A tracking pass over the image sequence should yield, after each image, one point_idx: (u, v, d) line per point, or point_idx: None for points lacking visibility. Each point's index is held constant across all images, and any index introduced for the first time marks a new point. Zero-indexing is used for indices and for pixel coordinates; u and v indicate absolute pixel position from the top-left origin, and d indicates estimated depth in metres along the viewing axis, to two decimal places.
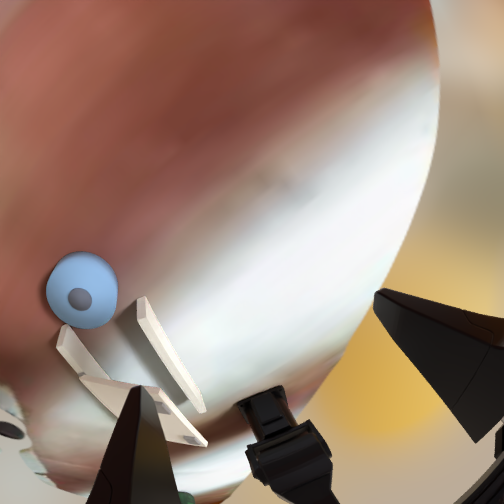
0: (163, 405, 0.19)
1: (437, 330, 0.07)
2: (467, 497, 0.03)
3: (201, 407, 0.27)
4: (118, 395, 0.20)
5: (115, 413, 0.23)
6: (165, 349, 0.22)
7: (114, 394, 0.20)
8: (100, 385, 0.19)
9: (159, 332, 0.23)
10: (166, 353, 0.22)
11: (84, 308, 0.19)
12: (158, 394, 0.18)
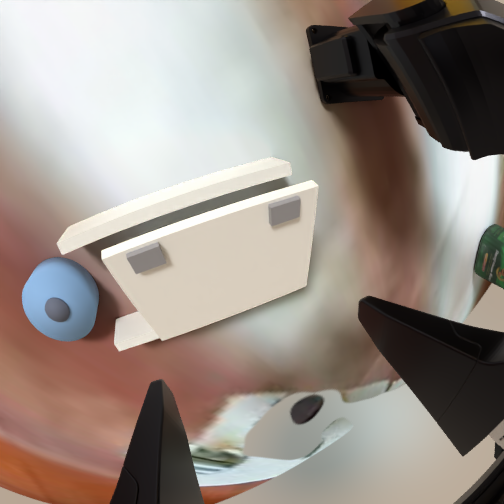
0: (131, 254, 0.12)
1: (422, 342, 0.07)
2: (467, 497, 0.03)
3: (273, 170, 0.17)
4: (162, 304, 0.16)
5: (241, 308, 0.19)
6: (113, 218, 0.15)
7: (164, 308, 0.16)
8: (152, 321, 0.16)
9: (99, 219, 0.15)
10: (118, 218, 0.15)
11: (65, 307, 0.16)
12: (104, 258, 0.12)
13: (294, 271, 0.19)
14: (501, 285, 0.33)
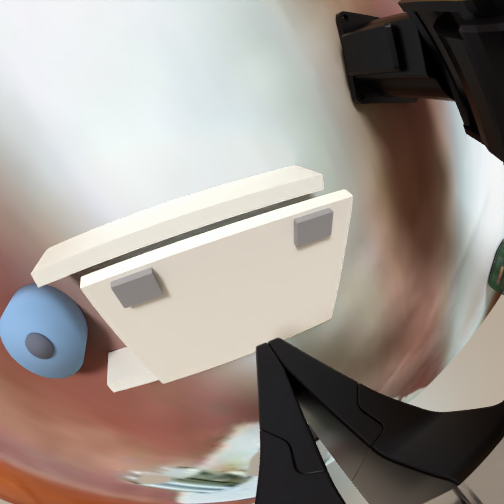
0: (116, 283, 0.09)
1: (318, 405, 0.06)
2: None
3: (302, 183, 0.13)
4: (160, 344, 0.12)
5: None
6: (98, 244, 0.11)
7: (163, 349, 0.13)
8: (149, 363, 0.13)
9: (81, 243, 0.12)
10: (104, 245, 0.11)
11: (49, 344, 0.13)
12: (83, 287, 0.09)
13: (320, 302, 0.15)
14: None
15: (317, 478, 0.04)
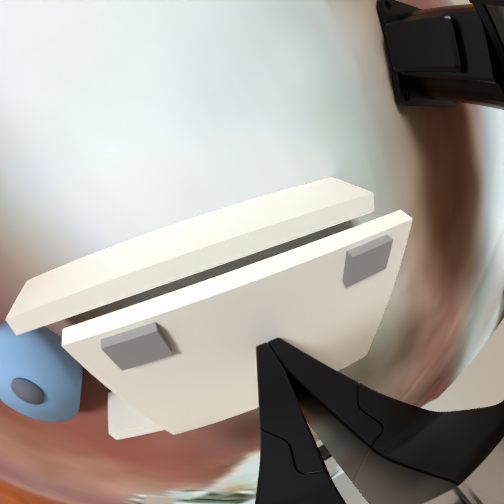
0: (108, 342, 0.06)
1: (318, 405, 0.06)
2: None
3: (351, 204, 0.10)
4: (170, 401, 0.09)
5: None
6: (84, 287, 0.08)
7: (174, 405, 0.10)
8: (157, 418, 0.10)
9: (65, 280, 0.09)
10: (92, 288, 0.08)
11: (38, 391, 0.10)
12: (65, 344, 0.06)
13: (359, 341, 0.12)
14: None
15: (317, 478, 0.04)
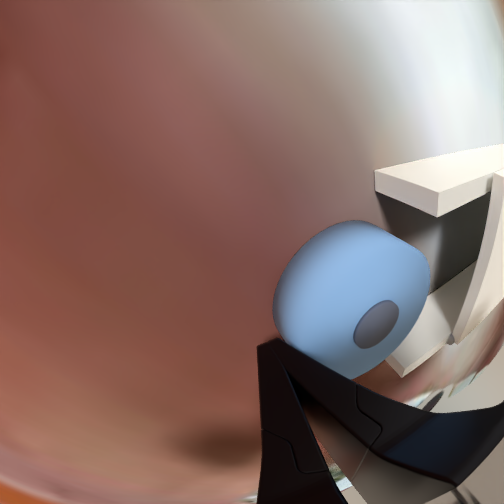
0: None
1: (316, 405, 0.06)
2: None
3: None
4: (494, 272, 0.09)
5: None
6: (485, 172, 0.08)
7: (491, 280, 0.10)
8: (476, 304, 0.10)
9: (452, 168, 0.08)
10: (491, 174, 0.08)
11: (394, 317, 0.09)
12: None
13: None
14: None
15: (319, 477, 0.04)
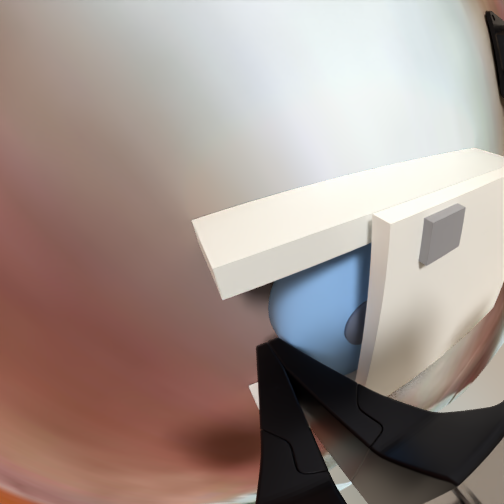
0: (435, 218, 0.06)
1: (317, 405, 0.06)
2: None
3: None
4: (403, 342, 0.08)
5: (451, 343, 0.11)
6: (369, 210, 0.07)
7: (400, 351, 0.08)
8: (372, 380, 0.09)
9: (309, 208, 0.07)
10: None
11: None
12: (392, 224, 0.05)
13: (498, 283, 0.11)
14: None
15: (318, 478, 0.04)
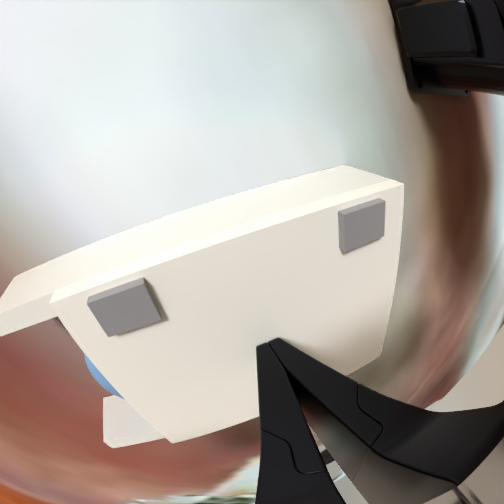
0: (94, 297, 0.06)
1: (317, 405, 0.06)
2: None
3: None
4: (164, 394, 0.09)
5: None
6: (72, 282, 0.07)
7: (169, 400, 0.09)
8: (151, 418, 0.09)
9: (52, 276, 0.08)
10: None
11: None
12: (53, 302, 0.06)
13: (369, 335, 0.11)
14: None
15: (317, 478, 0.04)
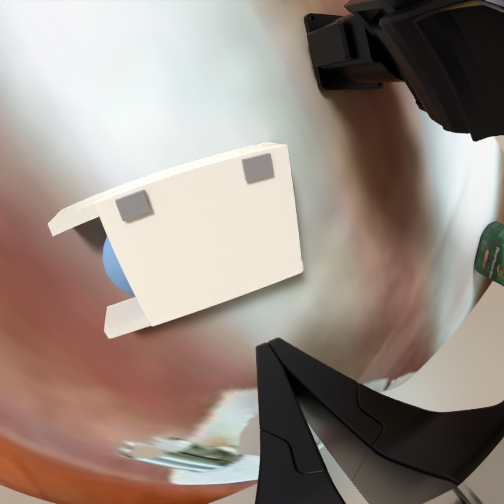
0: (119, 198, 0.13)
1: (318, 405, 0.06)
2: None
3: None
4: (148, 270, 0.16)
5: (233, 292, 0.19)
6: None
7: (151, 277, 0.16)
8: (139, 294, 0.16)
9: (91, 200, 0.15)
10: None
11: None
12: (96, 203, 0.13)
13: (285, 248, 0.18)
14: (502, 283, 0.32)
15: (317, 479, 0.04)
